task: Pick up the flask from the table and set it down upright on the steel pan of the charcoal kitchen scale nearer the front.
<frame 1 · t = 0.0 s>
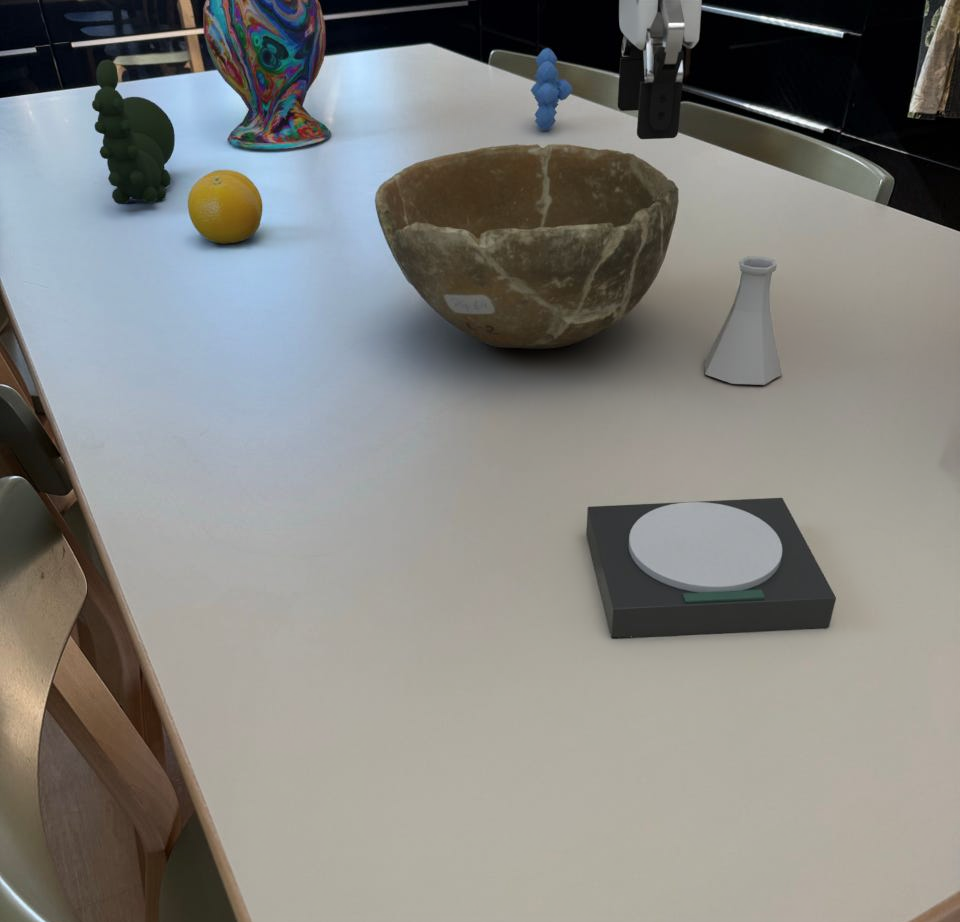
hand: (645, 123, 85), 20 cm above the table, tool pointing down, fingers open, 9 cm apart
fruit: (231, 242, 126), on the table
vase: (280, 140, 165), on the table
scale: (699, 578, 69), on the table
bowl: (529, 341, 101), on the table
grapes: (550, 132, 165), on the table
toy figurine: (146, 195, 143), on the table
flask: (741, 372, 94), on the table
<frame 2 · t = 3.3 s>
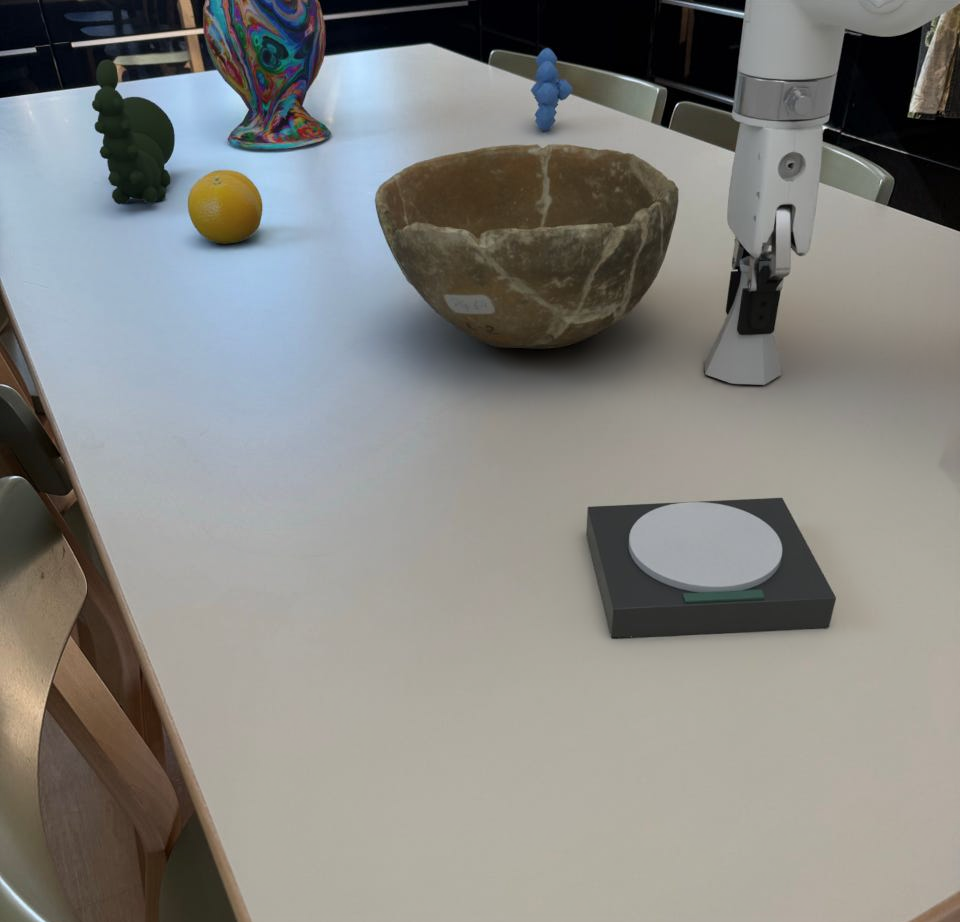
hand: (749, 322, 91), 5 cm above the table, tool pointing down, fingers closed on flask, 3 cm apart
flask: (741, 372, 94), on the table, touching gripper
everything else where it was.
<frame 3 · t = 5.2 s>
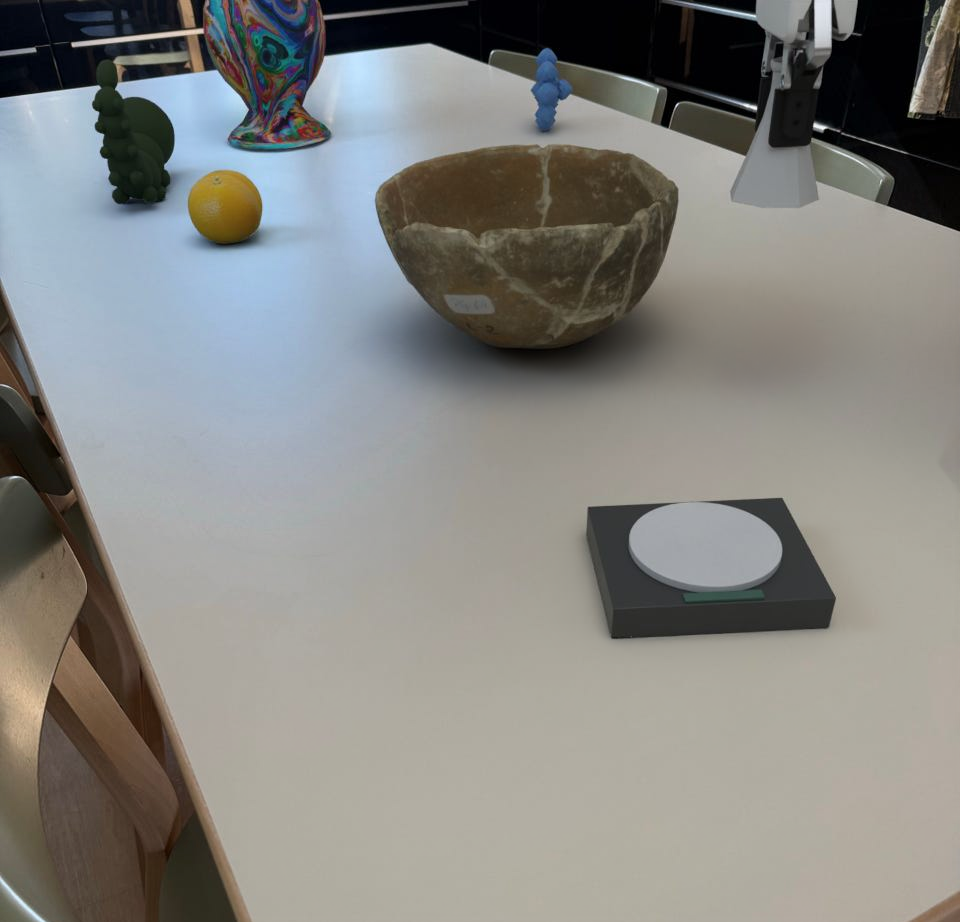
hand: (781, 136, 80), 20 cm above the table, tool pointing down, fingers closed on flask, 3 cm apart
flask: (772, 201, 83), point 16 cm above the table, touching gripper
everything else where it was.
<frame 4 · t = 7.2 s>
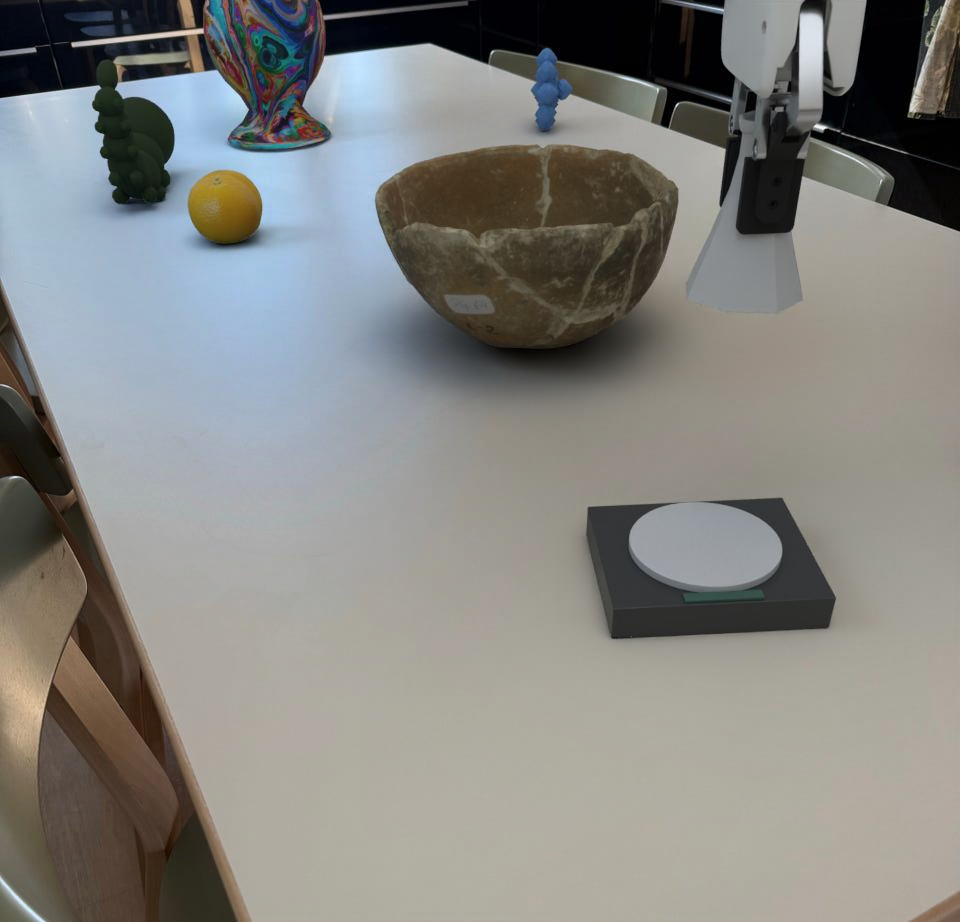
hand: (755, 217, 59), 22 cm above the table, tool pointing down, fingers closed on flask, 3 cm apart
flask: (742, 299, 62), point 17 cm above the table, touching gripper
everything else where it was.
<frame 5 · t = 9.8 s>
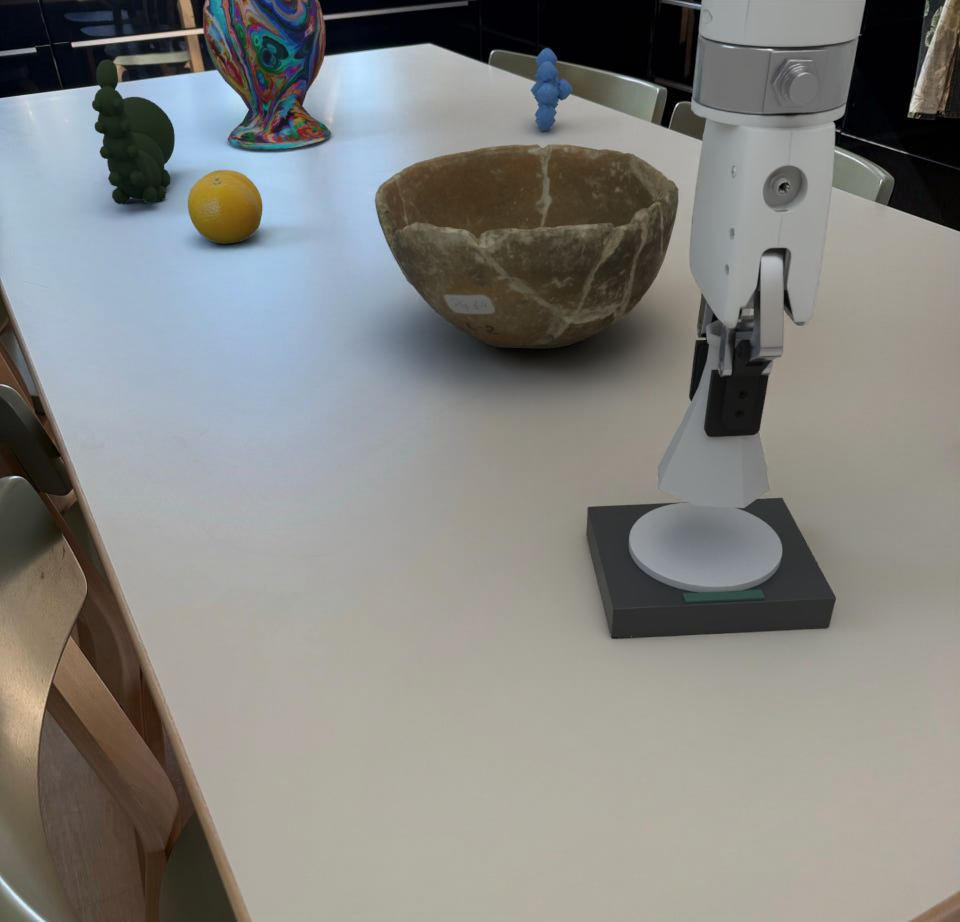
hand: (722, 414, 62), 12 cm above the table, tool pointing down, fingers closed on flask, 3 cm apart
flask: (711, 484, 65), point 7 cm above the table, touching gripper
everything else where it was.
when the fingers open (8 cm above the table, at t = 11.3 s): flask stays where it is, resting on scale.
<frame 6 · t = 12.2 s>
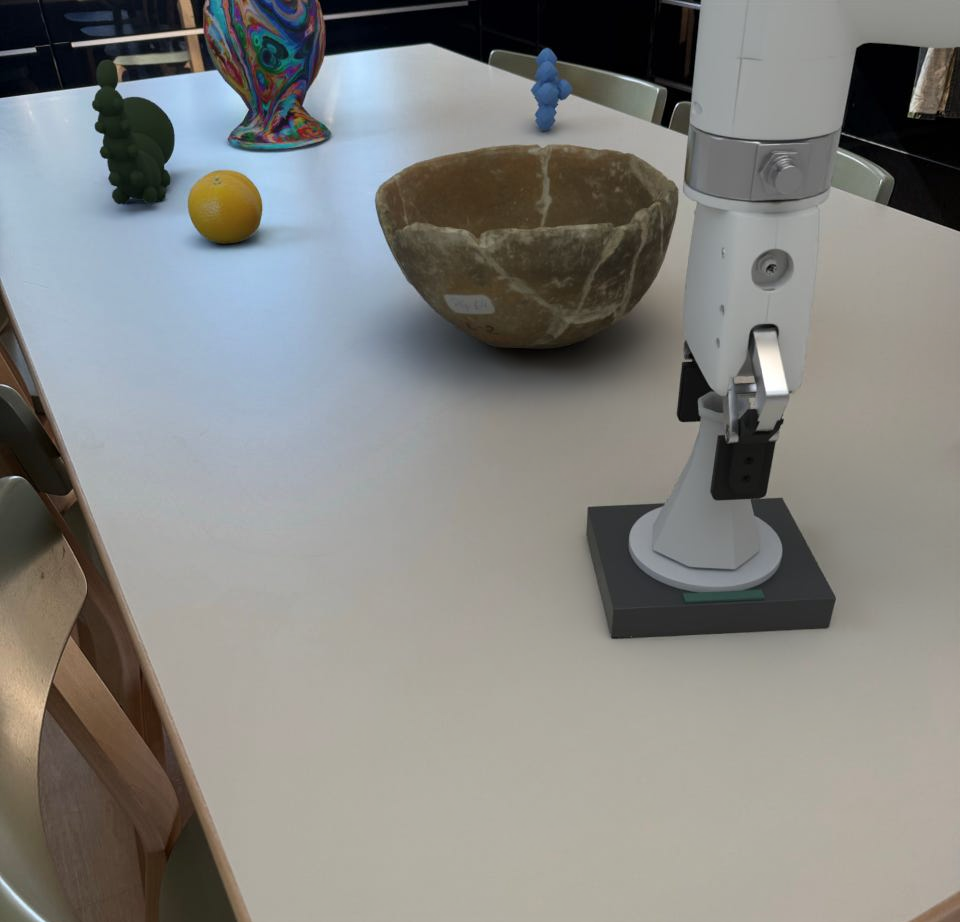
hand: (718, 455, 63), 9 cm above the table, tool pointing down, fingers open, 9 cm apart
flask: (704, 543, 68), point 3 cm above the table, touching scale
everything else where it was.
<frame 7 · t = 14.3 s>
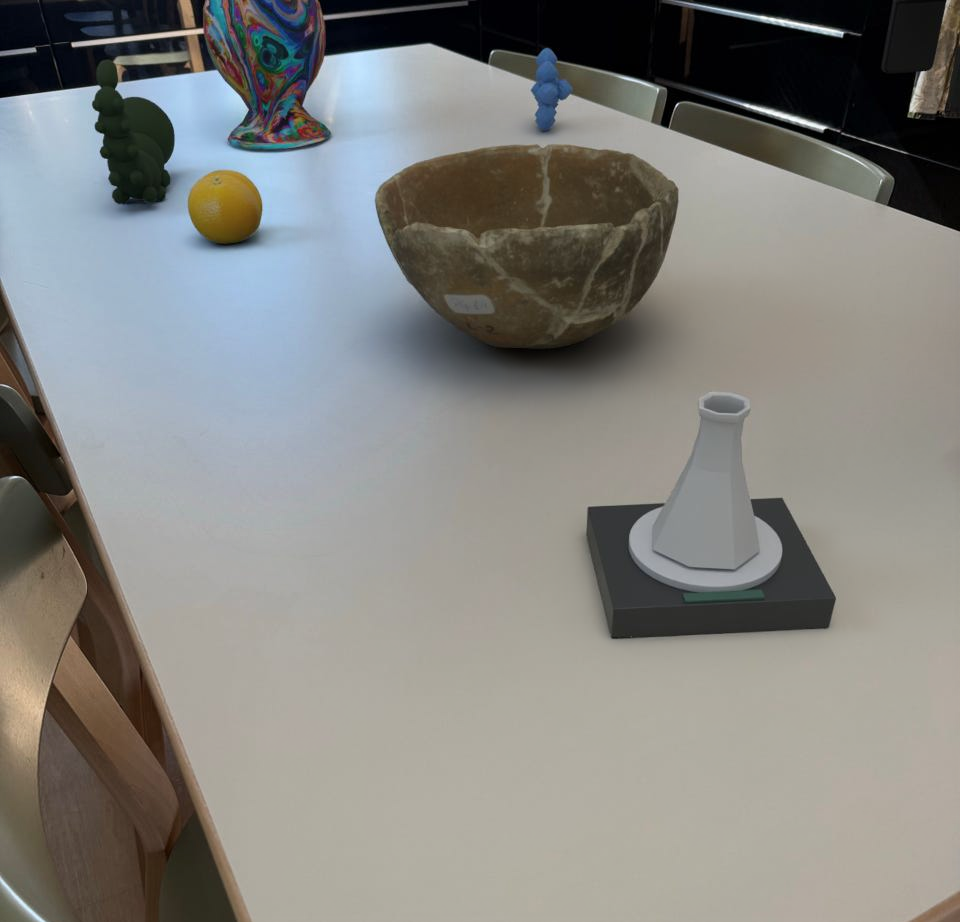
hand: (938, 87, 62), 27 cm above the table, tool pointing down, fingers open, 9 cm apart
nothing on the table moved.
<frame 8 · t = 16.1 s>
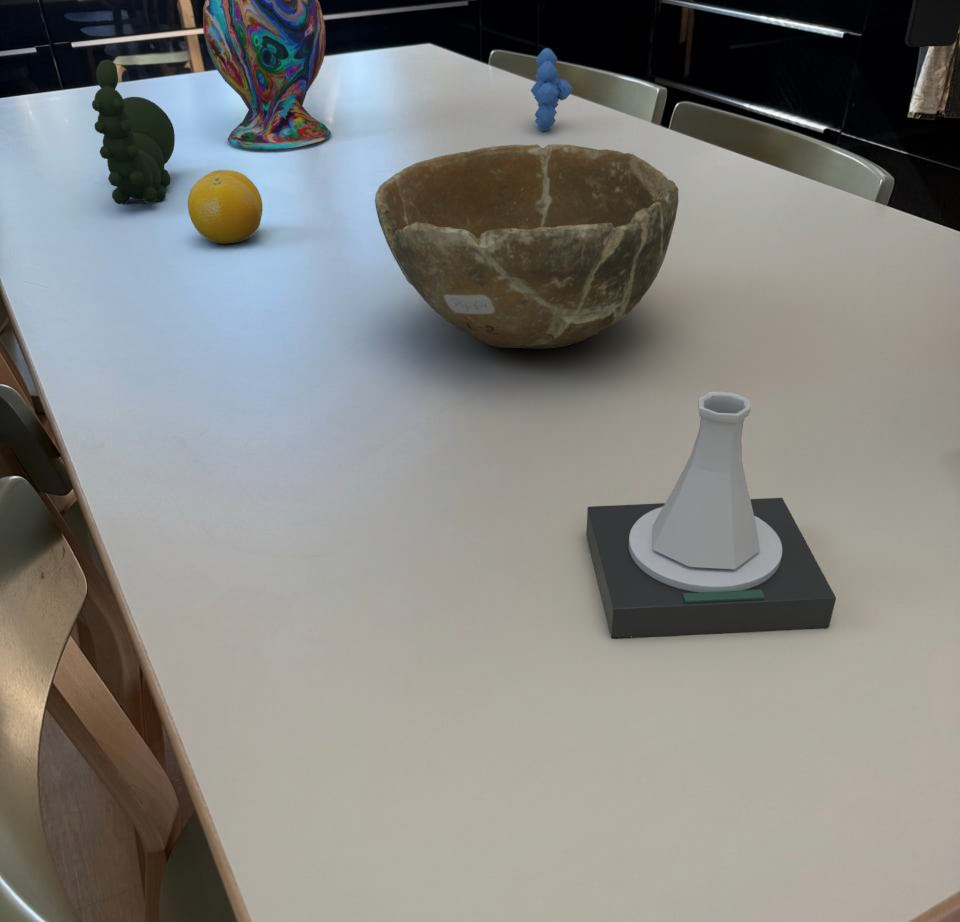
nothing on the table moved.
at the end: flask inside the target area on the scale (0.0 cm from its centre), point 2.8 cm above the scale's base; flask tilted 0°; the gripper is holding nothing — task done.
